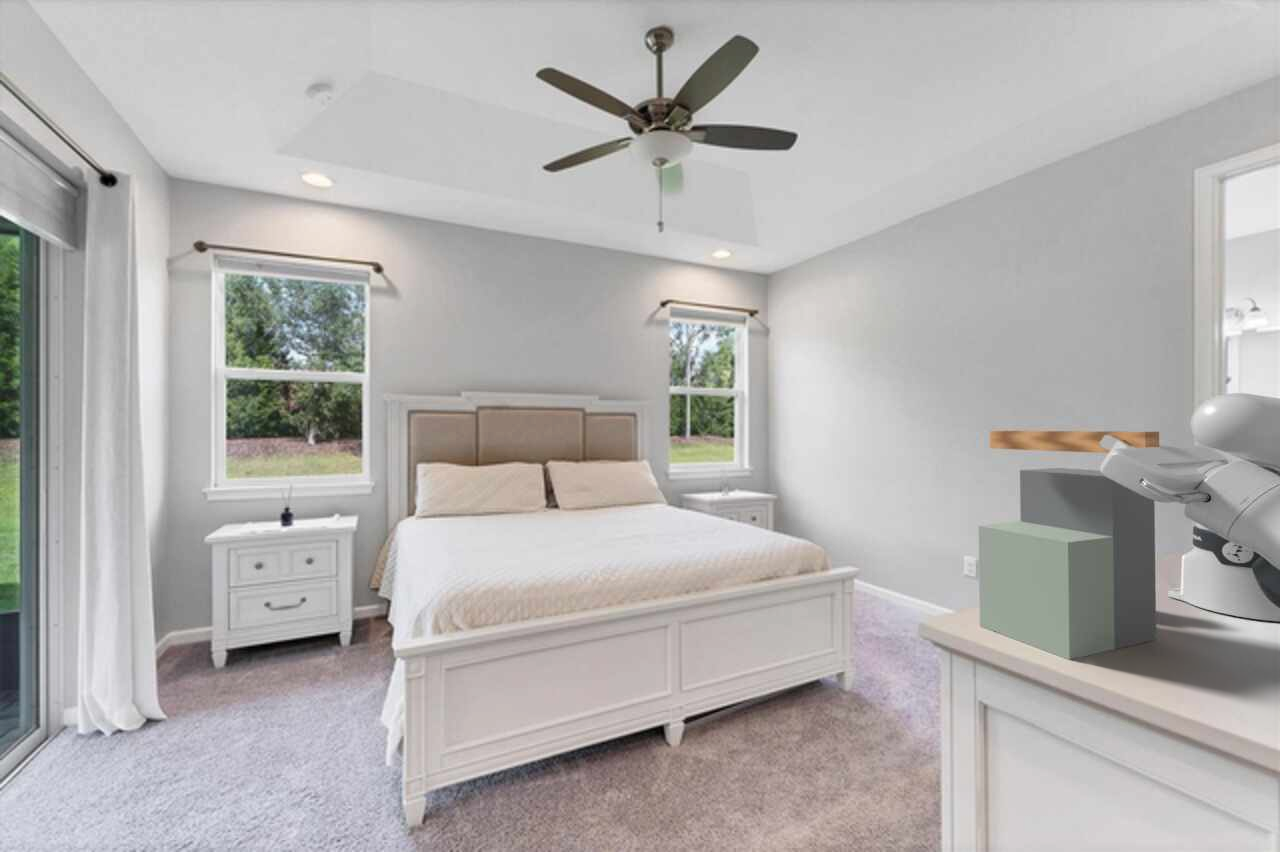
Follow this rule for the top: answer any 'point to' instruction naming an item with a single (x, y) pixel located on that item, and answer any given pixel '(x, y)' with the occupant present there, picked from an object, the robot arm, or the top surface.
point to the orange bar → (1068, 440)
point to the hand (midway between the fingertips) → (1115, 438)
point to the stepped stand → (1071, 565)
